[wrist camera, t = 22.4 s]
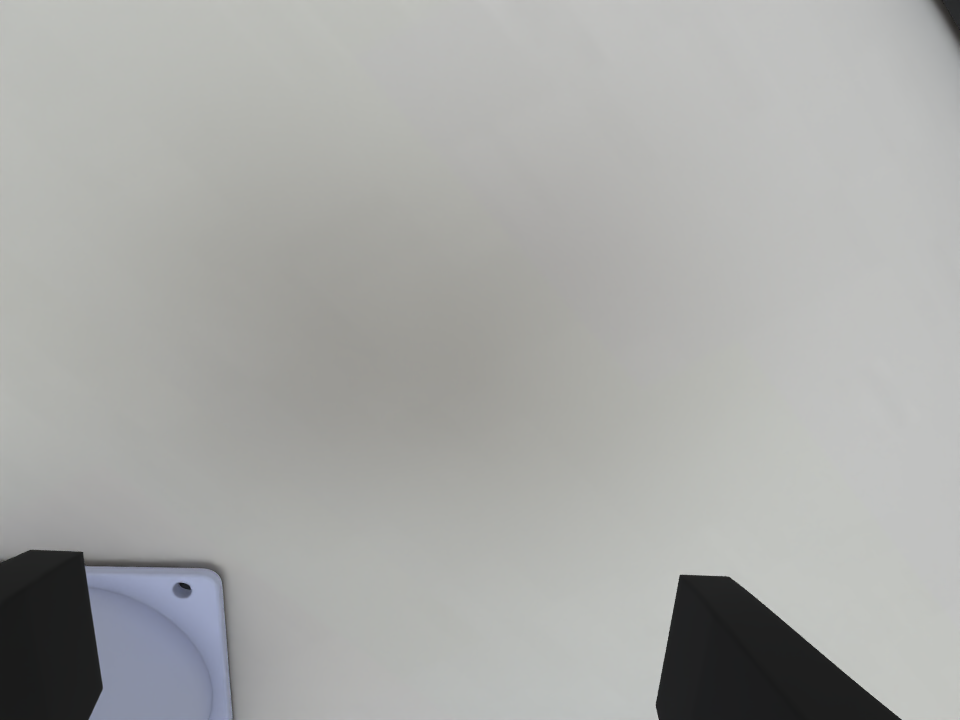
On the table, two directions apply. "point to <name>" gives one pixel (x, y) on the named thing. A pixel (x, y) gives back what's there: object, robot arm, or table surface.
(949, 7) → the dark grey flat slab
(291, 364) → the table surface
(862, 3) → the table surface
